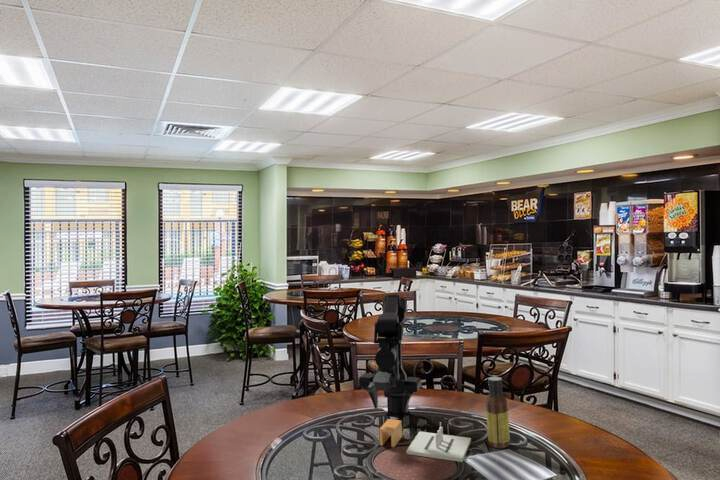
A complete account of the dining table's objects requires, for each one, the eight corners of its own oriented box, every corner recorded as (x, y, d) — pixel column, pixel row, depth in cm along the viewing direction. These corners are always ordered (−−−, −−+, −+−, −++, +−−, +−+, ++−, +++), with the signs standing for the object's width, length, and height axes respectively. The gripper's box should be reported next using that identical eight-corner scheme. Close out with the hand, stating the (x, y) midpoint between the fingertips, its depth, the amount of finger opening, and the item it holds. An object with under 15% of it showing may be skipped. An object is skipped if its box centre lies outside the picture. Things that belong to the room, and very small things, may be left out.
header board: (406, 453, 146) (406, 436, 146) (419, 434, 159) (419, 418, 159) (462, 462, 140) (461, 444, 140) (471, 441, 153) (470, 424, 153)
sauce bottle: (510, 441, 152) (508, 375, 151) (509, 450, 146) (507, 382, 145) (487, 439, 154) (486, 374, 153) (486, 448, 148) (484, 380, 147)
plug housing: (394, 447, 151) (393, 430, 150) (380, 445, 152) (379, 428, 152) (402, 436, 158) (401, 420, 158) (388, 434, 160) (388, 418, 159)
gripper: (350, 364, 150) (352, 416, 151) (411, 369, 143) (412, 423, 144) (363, 354, 161) (365, 403, 161) (421, 358, 154) (422, 409, 154)
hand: (390, 410), depth 155 cm, fingers open, 9 cm apart
